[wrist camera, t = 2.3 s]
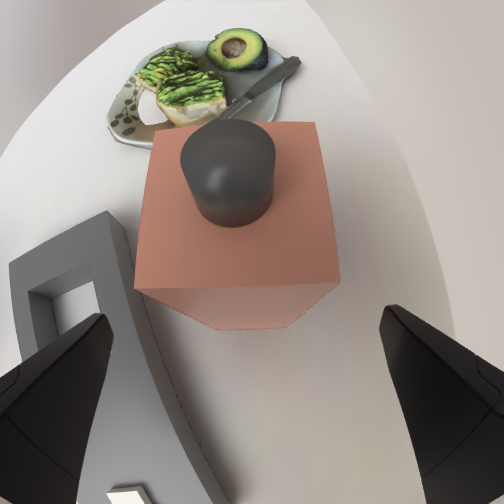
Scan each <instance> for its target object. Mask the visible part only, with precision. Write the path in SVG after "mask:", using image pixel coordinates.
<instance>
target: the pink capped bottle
mask: <svg viewBox="0 0 504 504" xmlns="http://www.w3.org/2000/svg"><path fill="white" fill-rule="evenodd" d="M339 283H340V275H339V266H338V257H337V249H336V241H335V234H334V226H333V220H332V213H331V206H330V200H329V194H328V188H327V182H326V177H325V171H324V166H323V160H322V155H321V150H320V145H319V140H318V135H317V131H316V126H315V122H250V121H246V120H241V119H222V120H217V121H214V122H211V123H208V124H206V125H201V126H191V127H182V128H173V129H165V130H158V131H155V136H154V140H153V145H152V150H151V155H150V161H149V166H148V172H147V178H146V184H145V190H144V197H143V204H142V211H141V218H140V226H139V235H138V244H137V255H136V266H135V279H134V289H136V290H138V291H140V292H142V293H144V294H145V295H147V296H149V297H151V298H153V299H155V300H157V301H159V302H161V303H163V304H165V305H166V306H168V307H170V308H172V309H174V310H176V311H178V312H180V313H182V314H184V315H186V316H189V317H191V318H193V319H195V320H197V321H199V322H201V323H203V324H205V325H207V326H209V327H212V328H214V329H216V330H234V329H267V328H286V327H287V326H288V325H290V324H291V323H292V322H293V321H295V320H296V319H297V318H298V317H300V316H301V315H302V314H303V313H305V312H306V311H307V310H308V309H309V308H311V307H312V306H313V305H314V304H315V303H317V302H318V301H319V300H320V299H321V298H322V297H324V296H325V295H326V294H327V293H328V292H330V291H331V290H332V289H333V288H334V287H335V286H336V285H338V284H339Z"/></svg>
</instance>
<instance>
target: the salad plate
mask: <svg viewBox="0 0 504 504" xmlns="http://www.w3.org/2000/svg"><path fill="white" fill-rule="evenodd" d="M215 38H216V39H215V40H213V41H186V42H178V43H174V44H170V45H167V46H165V47H162V48H160V49H158V50H156V51H154V52H153V53H150V54H149V55H148V56H146V57H145V58H144V59H143V60H142V61H141V62H140V63H139V64H138V66H137V67H136V68H135V70H134V71H133V73H132V74H131V76H130V77H129V79H128V80H127V82H126V84H125V85H124V86H123V88H122V90H121V91H120V93H119V94H118V95H117V96H116V99H115V100H114V102H113V104H112V106H111V108H110V110H109V112H108V114H107V123H108V129H109V130H110V132H111V134H112V135H113V137H114V139H115V140H116V141H117V142H120V143H123V144H127V145H132V146H135V147H141V148H146V149H152V145H153V140H154V136H155V131H158V130H165V129H173V128H182V127H191V126H201V125H206V124H208V123H211V122H214V121H217V120H222V119H241V120H246V121H250V122H272V120H273V118H274V116H275V114H276V111H277V108H278V105H279V98H280V93H281V87H282V83H283V81H284V80H285V79H286V78H287V77H289V76H290V75H291V74H292V73H293V72H294V71H295V70H296V69H297V68H298V67H299V65H300V64H301V61H300V60H299V57H294V56H292V57H290V58H284V57H282V56H281V55H280V54H279V53H277V52H276V51H275V50H273V49H271V48H269V47H267V44H266V41H265V40H264V39H263V38H262V37H261V35H260V34H258V33H257V32H255V31H252V30H250V29H243V28H236V29H234V28H233V29H229V30H225V31H223V32H222V33H220V34H217V35H216V36H215ZM146 88H147V89H149V90H150V91H152V92H154V93H156V103H157V106H158V107H159V108H160V109H161V110H162V111H163V113H164V114H165V115H166V117H167V118H168V120H167V121H166V122H164V123H159V124H154V125H145V124H144V123H143V122H142V121H141V119H140V117H139V113H138V102H139V100H140V97H141V95H142V93H143V91H144V89H146ZM233 99H237V100H236V101H235V102H234V103H231V101H232V100H233Z"/></svg>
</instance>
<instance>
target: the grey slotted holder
mask: <svg viewBox="0 0 504 504" xmlns="http://www.w3.org/2000/svg"><path fill="white" fill-rule="evenodd" d="M9 275H10V288H11V298H12V306H13V314H14V321H15V327H16V333H17V338H18V344H19V349H20V353H21V358H22V362H23V361H25V360H26V359H28V358H29V357H31V356H32V355H33V354H35V353H36V352H38V351H39V350H41V349H42V348H43V347H45V346H46V345H48V344H49V343H51V342H52V341H54V340H55V339H57V338H58V332H57V328H56V323H55V318H54V313H53V308H52V302H51V299H52V298H55V297H57V296H59V295H61V294H63V293H66V292H68V291H70V290H72V289H75V288H77V287H79V286H81V285H83V284H86V283H88V282H90V281H93V283H94V287H95V292H96V296H97V301H98V305H99V309H100V313H101V314H105V315H106V316H107V318H108V320H109V323H110V326H111V328H112V331H113V334H114V340H113V344H112V349H111V354H110V358H109V363H108V368H107V373H106V377H105V381H104V384H103V388H102V391H101V394H100V398H99V401H98V405H97V409H96V412H95V416H94V420H93V424H92V427H91V431H90V435H89V440H88V444H87V448H86V452H85V457H84V462H83V466H82V471H81V476H80V481H79V488H78V494H77V501H78V503H79V504H231V503H230V502H229V500H228V498H227V496H226V495H225V493H224V491H223V489H222V488H221V486H220V484H219V482H218V481H217V479H216V477H215V475H214V473H213V471H212V469H211V467H210V466H209V464H208V462H207V460H206V458H205V456H204V454H203V452H202V450H201V448H200V446H199V444H198V442H197V440H196V437H195V435H194V433H193V431H192V429H191V427H190V425H189V422H188V420H187V418H186V416H185V413H184V411H183V409H182V406H181V404H180V402H179V399H178V397H177V395H176V392H175V390H174V387H173V385H172V382H171V380H170V377H169V375H168V372H167V369H166V367H165V364H164V361H163V359H162V356H161V353H160V350H159V348H158V345H157V342H156V339H155V336H154V333H153V330H152V327H151V324H150V321H149V318H148V315H147V312H146V308H145V305H144V302H143V298H142V295H141V292H140V291H138V290H136V289H134V279H135V270H134V266H133V263H132V259H131V255H130V251H129V247H128V242H127V238H126V234H125V229H124V227H123V226H122V225H121V224H120V223H119V222H118V221H117V220H116V219H115V218H114V217H113V216H112V215H111V214H110V213H109V212H108V211H105V212H102V213H100V214H98V215H96V216H94V217H92V218H90V219H88V220H86V221H84V222H82V223H80V224H78V225H76V226H74V227H72V228H70V229H69V230H67V231H65V232H63V233H61V234H59V235H57V236H55V237H54V238H52V239H50V240H48V241H46V242H44V243H43V244H41V245H39V246H37V247H36V248H34V249H32V250H30V251H29V252H27V253H25V254H23V255H22V256H20V257H18V258H17V259H15V260H13V261H12V262H10V263H9Z"/></svg>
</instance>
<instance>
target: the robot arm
mask: <svg viewBox="0 0 504 504" xmlns="http://www.w3.org/2000/svg"><path fill="white" fill-rule="evenodd" d="M379 331H380V336H381V339H382V343H383V348H384V352H385V356H386V360H387V365H388V368H389V372H390V375H391V378H392V381H393V384H394V387H395V390H396V393H397V396H398V399H399V402H400V405H401V408H402V411H403V414H404V418H405V421H406V424H407V428H408V431H409V434H410V438H411V441H412V445H413V449H414V452H415V456H416V460H417V464H418V468H419V472H420V476H421V478H422V479H421V481H422V485H423V489H424V494H425V499H426V503H427V504H504V372H503V371H501V370H499V369H498V368H496V367H495V366H493V365H491V364H490V363H488V362H487V361H485V360H483V359H482V358H481V357H479V356H477V355H475V353H473V352H471V351H470V350H468V349H467V348H465V347H464V346H462V345H461V344H459V343H458V342H456V341H455V340H453V339H452V338H450V337H448V336H447V335H445V334H444V333H442V332H441V331H439V330H437V329H436V328H434V327H433V326H431V325H430V324H428V323H426V322H425V321H423V320H422V319H420V318H418V317H417V316H415V315H414V314H412V313H410V312H409V311H407V310H406V309H404V308H402V307H401V306H399V305H397V304H394V305H387V306H385V308H384V311H383V314H382V318H381V322H380V326H379ZM113 340H114V334H113V331H112V328H111V326H110V323H109V320H108V318H107V316H106V315H105V314H101V313H94V314H92V315H91V316H89V317H88V318H86V319H85V320H83V321H82V322H80V323H79V324H77V325H76V326H74V327H73V328H71V329H70V330H68V331H67V332H65V333H64V334H62V335H61V336H60V337H58V338H57V339H55V340H54V341H52V342H51V343H49V344H48V345H46V346H45V347H43V348H42V349H41V350H39V351H38V352H36V353H35V354H33V355H32V356H31V357H29V358H28V359H26V360H25V361H23V362H22V363H21V365H18V366H16V367H15V368H14V369H12V370H11V371H9V372H8V373H6V374H5V375H3V376H2V377H0V504H76V500H77V494H78V488H79V481H80V476H81V471H82V466H83V462H84V457H85V452H86V448H87V444H88V440H89V435H90V431H91V427H92V424H93V420H94V416H95V412H96V409H97V405H98V401H99V398H100V394H101V391H102V388H103V384H104V381H105V377H106V373H107V368H108V363H109V358H110V354H111V349H112V344H113Z"/></svg>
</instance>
